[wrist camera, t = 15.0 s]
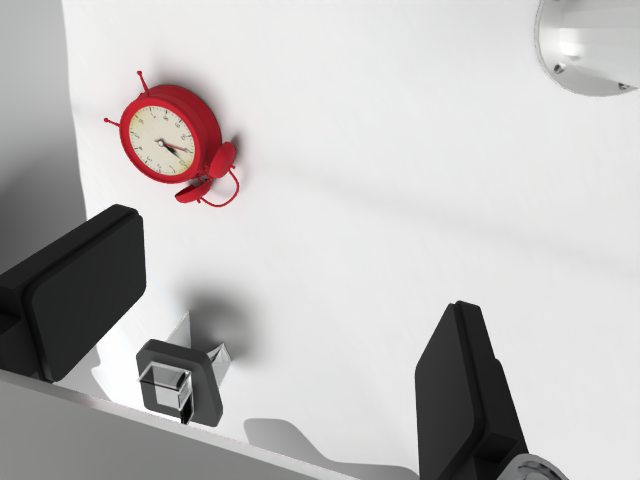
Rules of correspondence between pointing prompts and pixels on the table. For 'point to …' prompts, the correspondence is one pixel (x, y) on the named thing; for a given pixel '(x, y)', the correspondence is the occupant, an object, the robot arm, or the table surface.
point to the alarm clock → (175, 140)
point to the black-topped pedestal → (182, 377)
